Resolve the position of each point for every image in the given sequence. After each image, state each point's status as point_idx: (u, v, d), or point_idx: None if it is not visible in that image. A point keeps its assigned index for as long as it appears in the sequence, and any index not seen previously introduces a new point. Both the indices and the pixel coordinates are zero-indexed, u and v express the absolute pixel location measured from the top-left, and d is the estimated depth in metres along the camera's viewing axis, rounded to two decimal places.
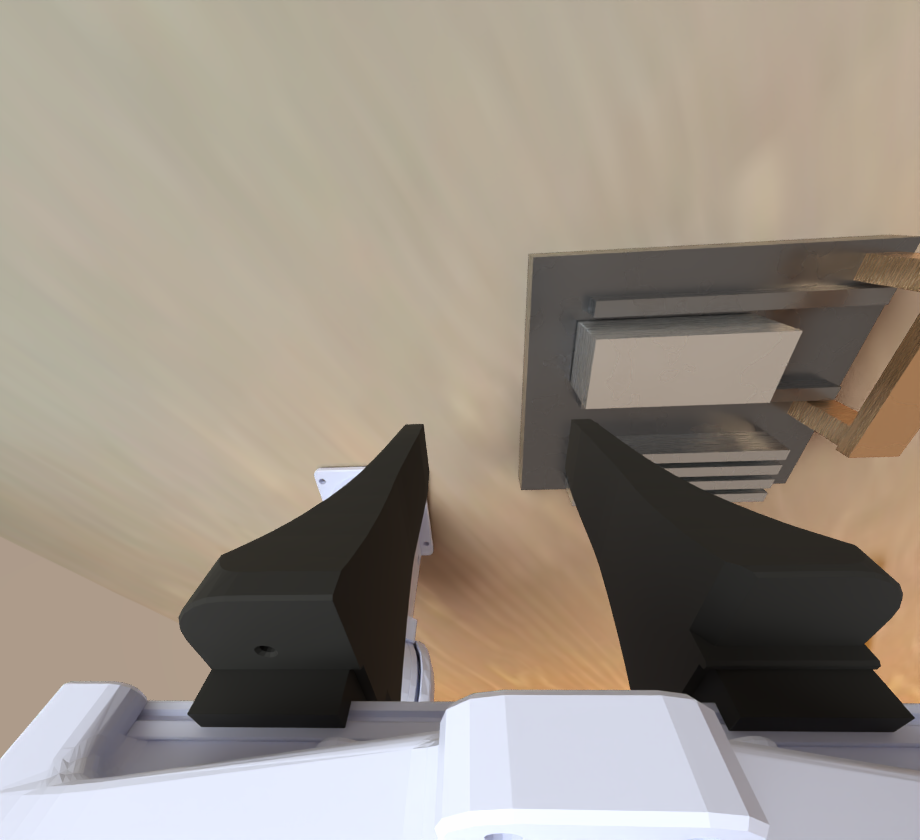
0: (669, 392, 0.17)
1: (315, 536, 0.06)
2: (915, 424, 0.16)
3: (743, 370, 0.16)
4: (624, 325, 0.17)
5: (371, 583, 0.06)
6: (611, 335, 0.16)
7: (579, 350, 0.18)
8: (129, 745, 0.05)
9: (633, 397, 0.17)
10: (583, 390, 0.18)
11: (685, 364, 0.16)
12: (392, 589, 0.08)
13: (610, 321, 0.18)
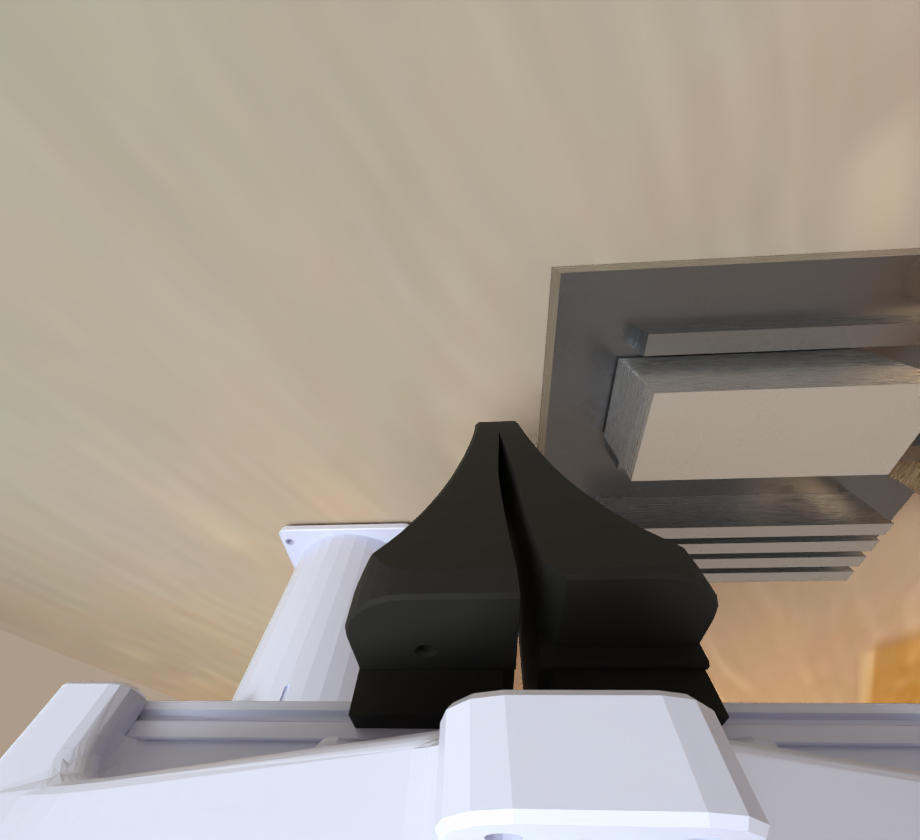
0: (751, 461, 0.12)
1: (456, 534, 0.06)
2: None
3: (860, 433, 0.12)
4: (685, 366, 0.13)
5: None
6: (674, 385, 0.11)
7: (620, 397, 0.13)
8: (129, 745, 0.05)
9: (699, 467, 0.12)
10: (626, 453, 0.13)
11: (778, 426, 0.11)
12: None
13: (662, 358, 0.13)
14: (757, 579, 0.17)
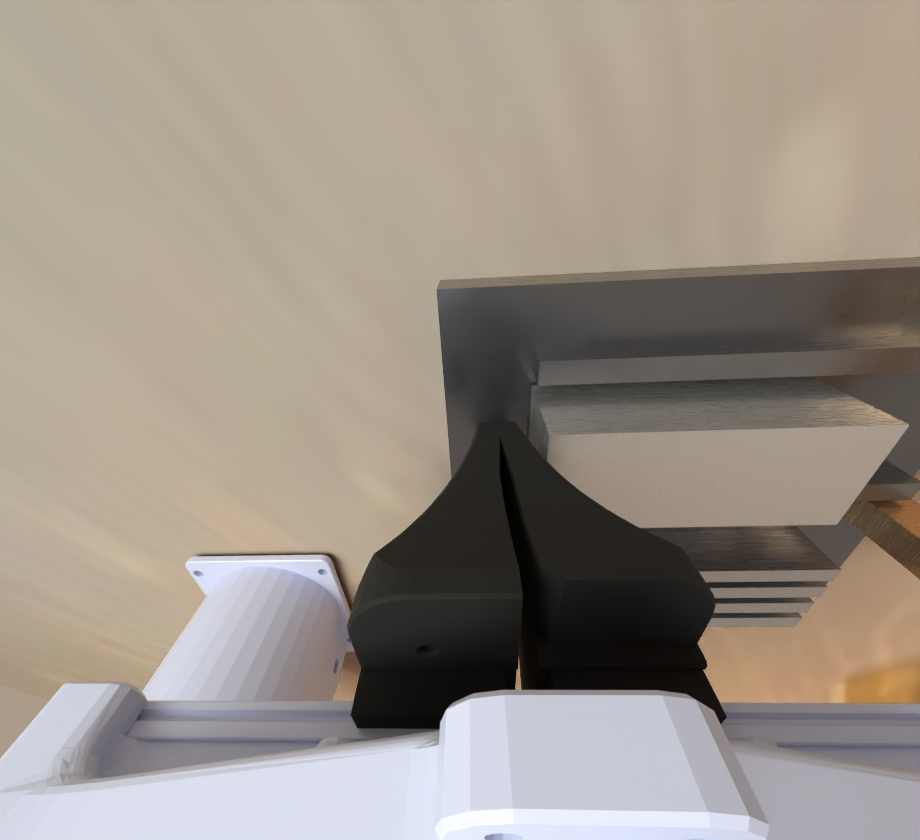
0: (675, 509, 0.10)
1: (458, 534, 0.06)
2: None
3: (799, 480, 0.10)
4: (602, 397, 0.11)
5: None
6: (577, 423, 0.10)
7: (533, 431, 0.12)
8: (129, 745, 0.05)
9: None
10: None
11: (701, 471, 0.10)
12: None
13: (582, 385, 0.12)
14: None
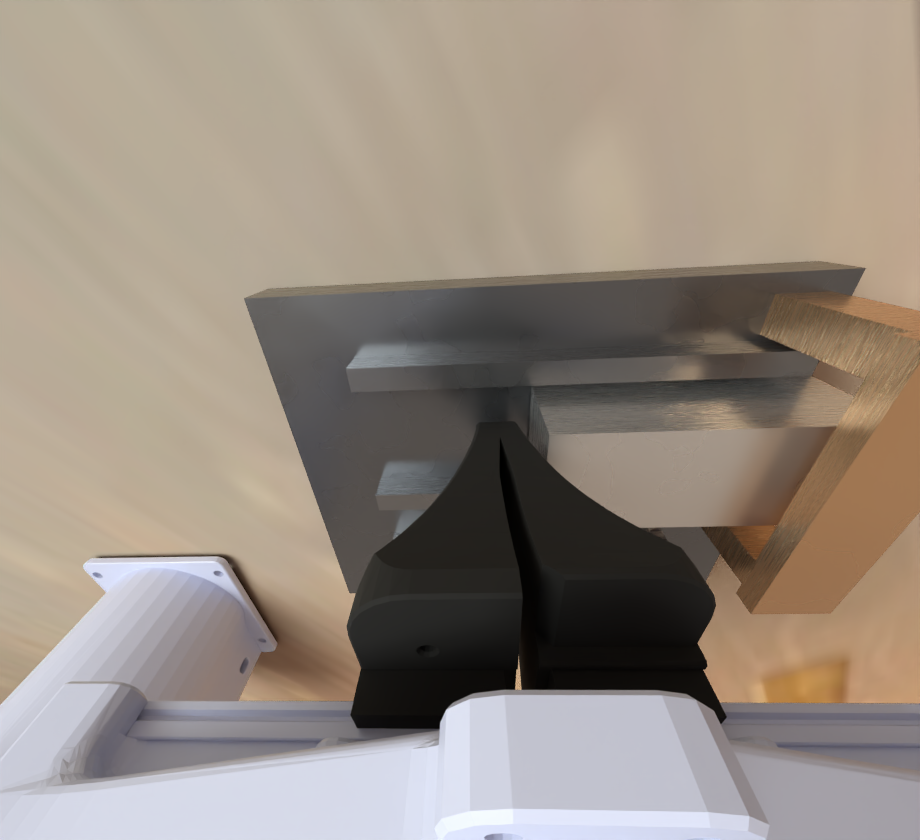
0: (675, 509, 0.10)
1: (457, 534, 0.06)
2: (850, 576, 0.10)
3: (799, 480, 0.10)
4: (602, 397, 0.11)
5: None
6: (577, 422, 0.10)
7: (533, 430, 0.12)
8: (129, 745, 0.05)
9: None
10: None
11: (701, 471, 0.10)
12: None
13: (582, 385, 0.12)
14: None
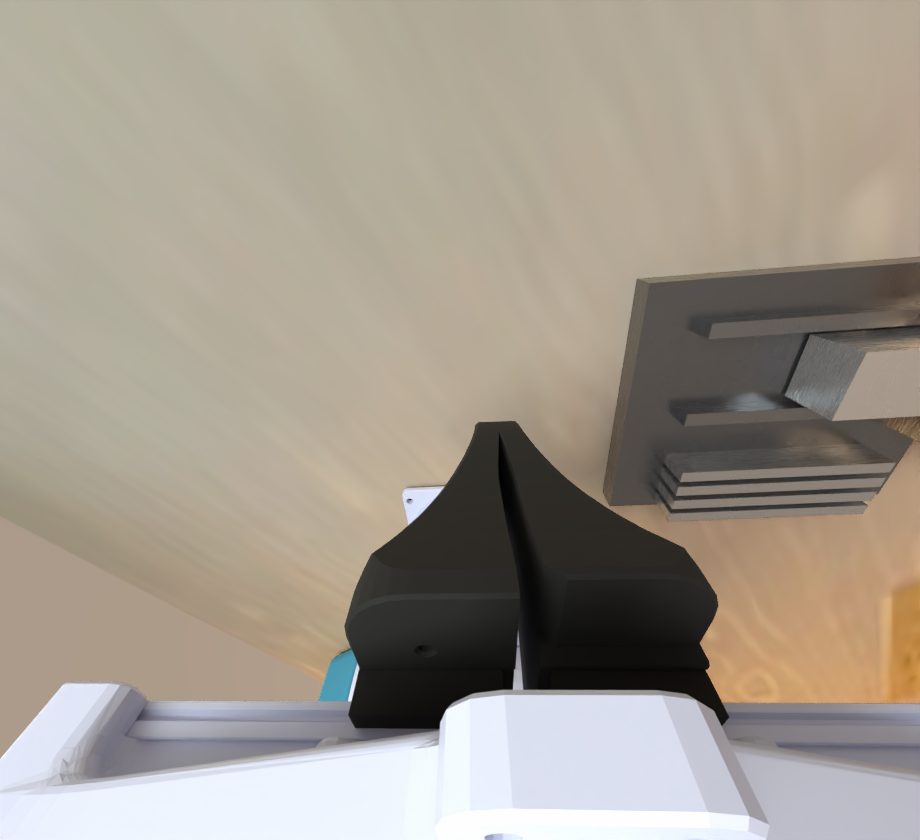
0: None
1: (455, 534, 0.06)
2: None
3: None
4: (869, 336, 0.17)
5: None
6: (874, 347, 0.16)
7: (813, 362, 0.18)
8: (129, 745, 0.05)
9: (885, 408, 0.17)
10: (825, 402, 0.18)
11: None
12: None
13: (843, 333, 0.18)
14: (791, 514, 0.22)
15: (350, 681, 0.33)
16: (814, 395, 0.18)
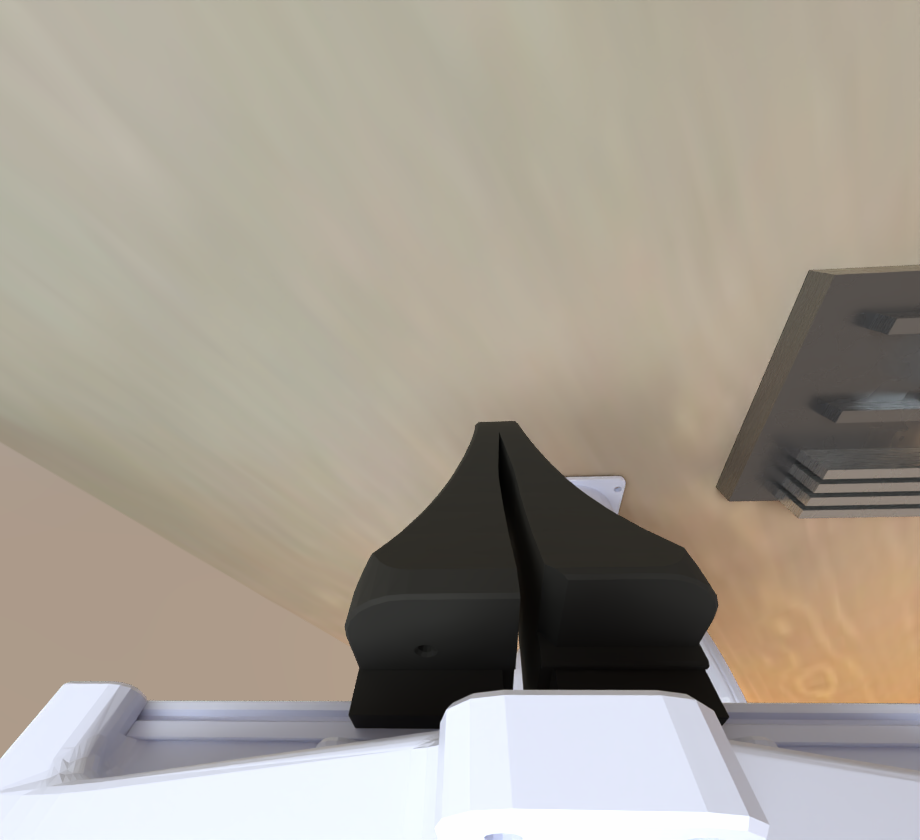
0: None
1: (455, 534, 0.06)
2: None
3: None
4: None
5: None
6: None
7: None
8: (129, 745, 0.05)
9: None
10: None
11: None
12: None
13: None
14: None
15: None
16: None
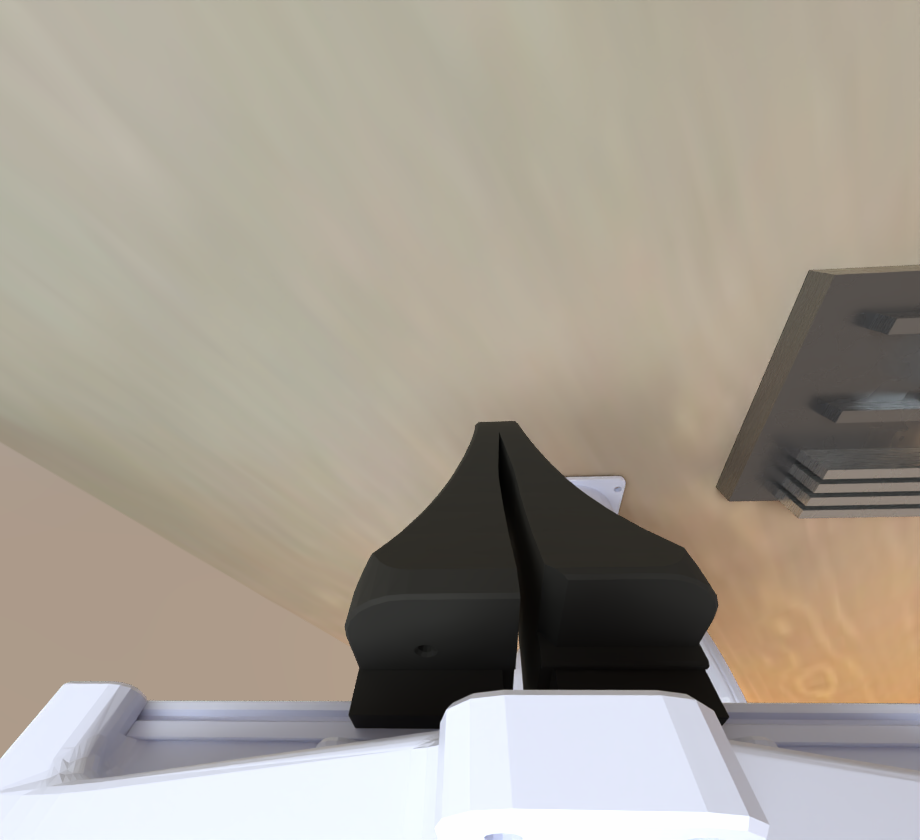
0: None
1: (455, 534, 0.06)
2: None
3: None
4: None
5: None
6: None
7: None
8: (129, 745, 0.05)
9: None
10: None
11: None
12: None
13: None
14: None
15: None
16: None
